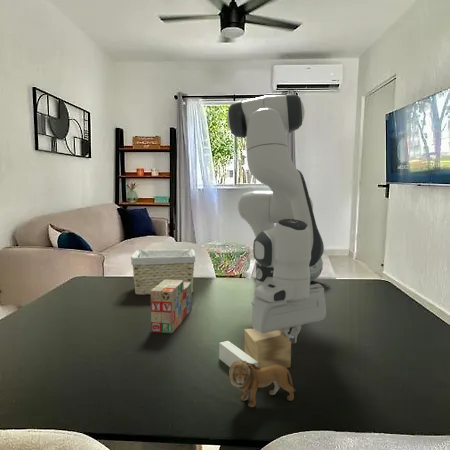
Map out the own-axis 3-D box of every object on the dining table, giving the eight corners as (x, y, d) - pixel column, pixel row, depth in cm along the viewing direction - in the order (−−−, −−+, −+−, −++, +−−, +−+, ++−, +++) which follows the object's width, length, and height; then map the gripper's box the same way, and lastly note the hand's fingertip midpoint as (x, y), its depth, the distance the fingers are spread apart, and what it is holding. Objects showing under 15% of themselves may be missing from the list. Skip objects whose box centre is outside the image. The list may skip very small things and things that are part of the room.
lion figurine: (235, 416, 73) (236, 369, 72) (223, 401, 78) (223, 357, 77) (302, 398, 79) (304, 354, 78) (287, 386, 84) (288, 344, 83)
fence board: (228, 356, 97) (228, 340, 97) (257, 379, 86) (258, 362, 85) (219, 358, 96) (219, 342, 96) (248, 382, 85) (248, 364, 84)
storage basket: (130, 296, 147) (129, 256, 146) (136, 284, 163) (135, 249, 162) (195, 294, 149) (195, 255, 148) (195, 283, 166) (194, 248, 164)
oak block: (274, 349, 102) (274, 326, 101) (290, 367, 92) (291, 341, 91) (244, 352, 100) (244, 329, 99) (257, 371, 90) (257, 345, 89)
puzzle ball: (314, 288, 159) (315, 251, 157) (279, 283, 167) (280, 247, 165) (327, 280, 171) (328, 246, 170) (294, 276, 179) (295, 242, 178)
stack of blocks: (173, 308, 134) (173, 272, 132) (191, 309, 132) (191, 273, 131) (150, 332, 113) (150, 289, 111) (172, 334, 112) (171, 290, 110)
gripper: (315, 279, 104) (313, 331, 105) (248, 289, 94) (247, 346, 95) (332, 285, 98) (330, 339, 100) (264, 296, 88) (263, 356, 90)
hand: (289, 343), depth 97 cm, fingers closed
